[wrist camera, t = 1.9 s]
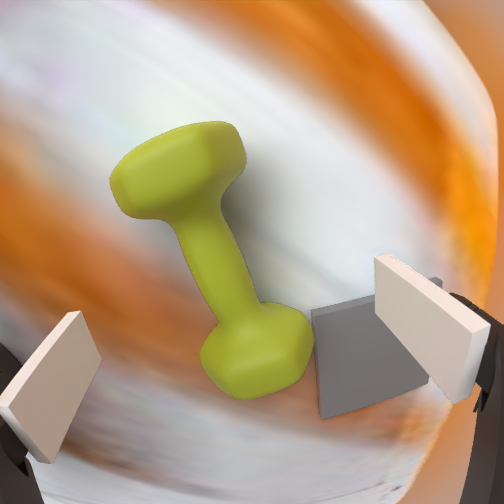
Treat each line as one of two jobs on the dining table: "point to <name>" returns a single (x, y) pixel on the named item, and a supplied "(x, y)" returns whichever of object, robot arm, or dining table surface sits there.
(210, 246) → the dumbbell
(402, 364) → the trivet
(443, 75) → the dining table surface
